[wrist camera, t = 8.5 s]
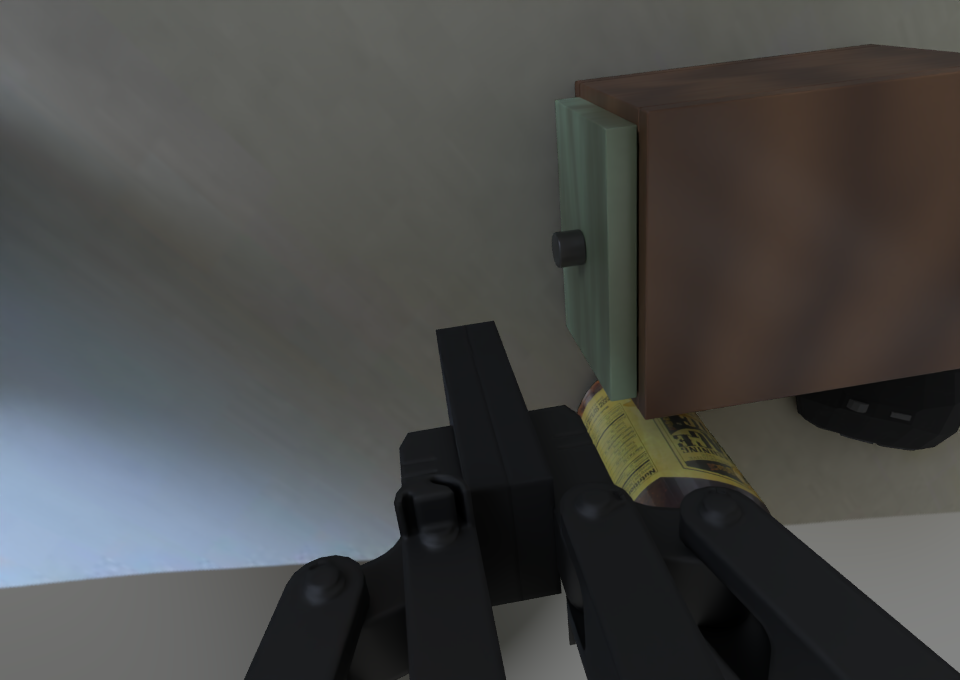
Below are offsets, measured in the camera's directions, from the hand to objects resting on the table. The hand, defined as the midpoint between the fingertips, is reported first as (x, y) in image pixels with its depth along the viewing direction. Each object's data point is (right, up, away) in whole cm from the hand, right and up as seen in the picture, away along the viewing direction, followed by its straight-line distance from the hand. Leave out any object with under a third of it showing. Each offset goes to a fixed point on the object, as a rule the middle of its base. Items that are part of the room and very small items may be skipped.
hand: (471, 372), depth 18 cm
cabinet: (+13, +8, +18) cm, 24 cm away
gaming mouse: (+23, -2, +25) cm, 34 cm away
